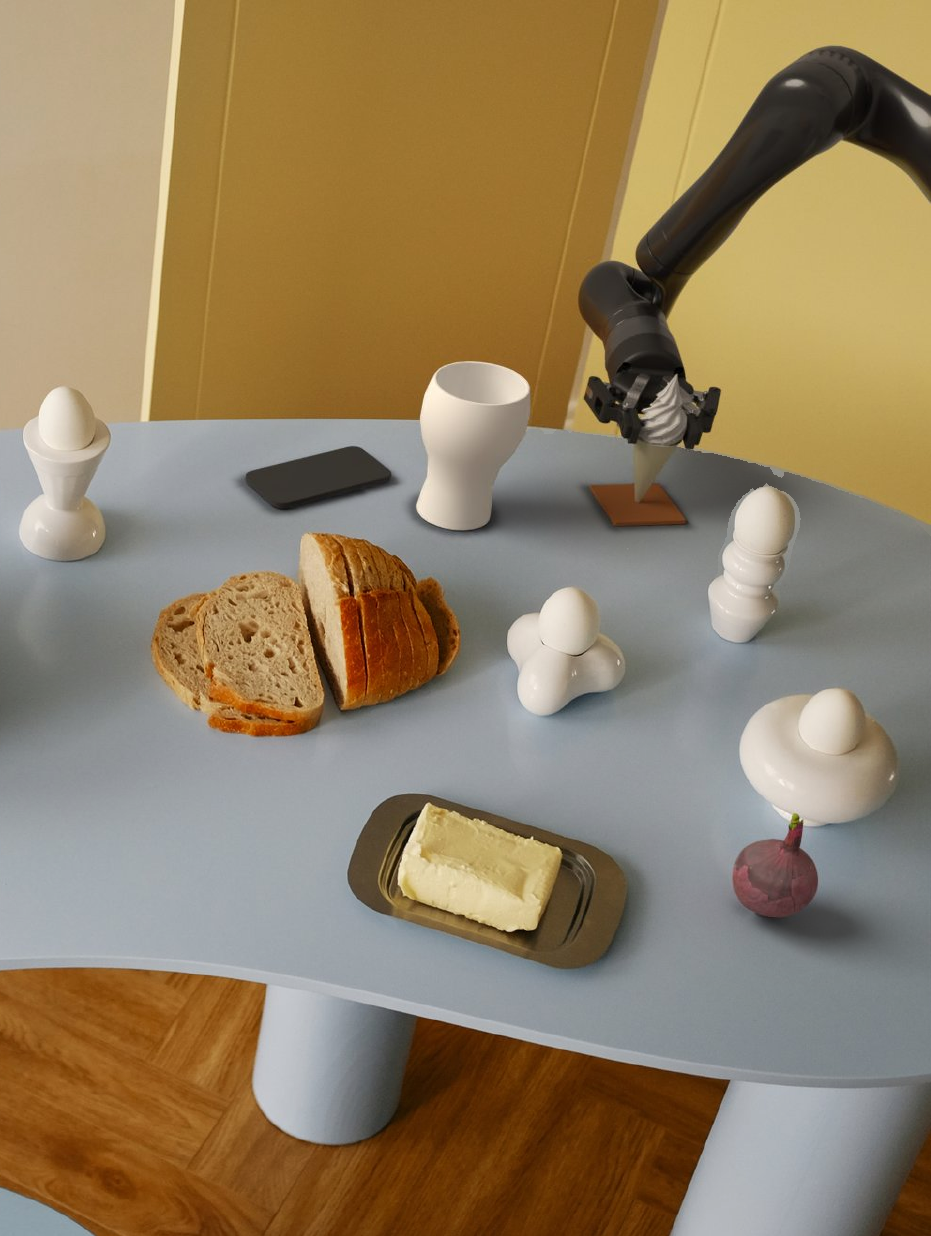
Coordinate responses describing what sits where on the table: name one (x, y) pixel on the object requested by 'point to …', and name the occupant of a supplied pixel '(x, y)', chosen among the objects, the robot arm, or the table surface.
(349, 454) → the phone
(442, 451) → the cup
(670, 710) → the table surface
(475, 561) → the table surface
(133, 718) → the table surface
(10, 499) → the table surface
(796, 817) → the vegetable
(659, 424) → the ice cream cone
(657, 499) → the cork mat
